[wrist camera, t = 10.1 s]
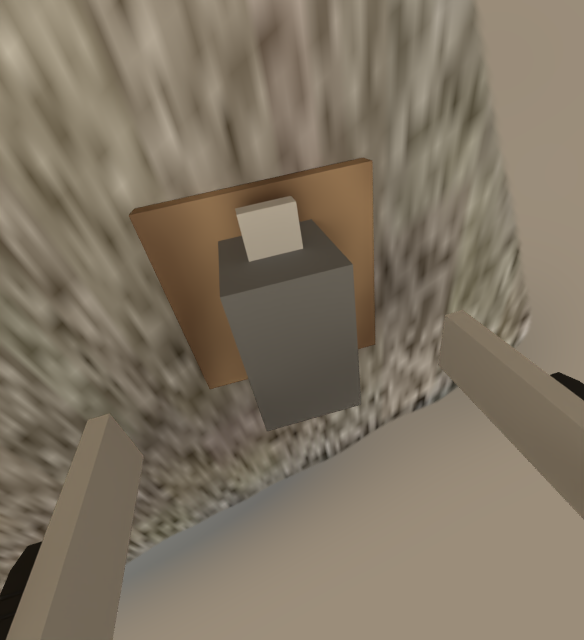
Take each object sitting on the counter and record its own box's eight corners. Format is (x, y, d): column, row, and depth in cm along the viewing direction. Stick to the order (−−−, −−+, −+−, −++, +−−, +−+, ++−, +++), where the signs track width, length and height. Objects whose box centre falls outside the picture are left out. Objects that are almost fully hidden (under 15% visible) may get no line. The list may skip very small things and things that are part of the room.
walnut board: (209, 377, 22) (209, 389, 21) (134, 208, 16) (128, 215, 15) (368, 334, 23) (375, 344, 22) (362, 157, 16) (372, 160, 15)
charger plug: (254, 355, 21) (266, 431, 16) (205, 201, 15) (201, 245, 10) (326, 336, 21) (361, 404, 16) (306, 178, 15) (349, 209, 10)
